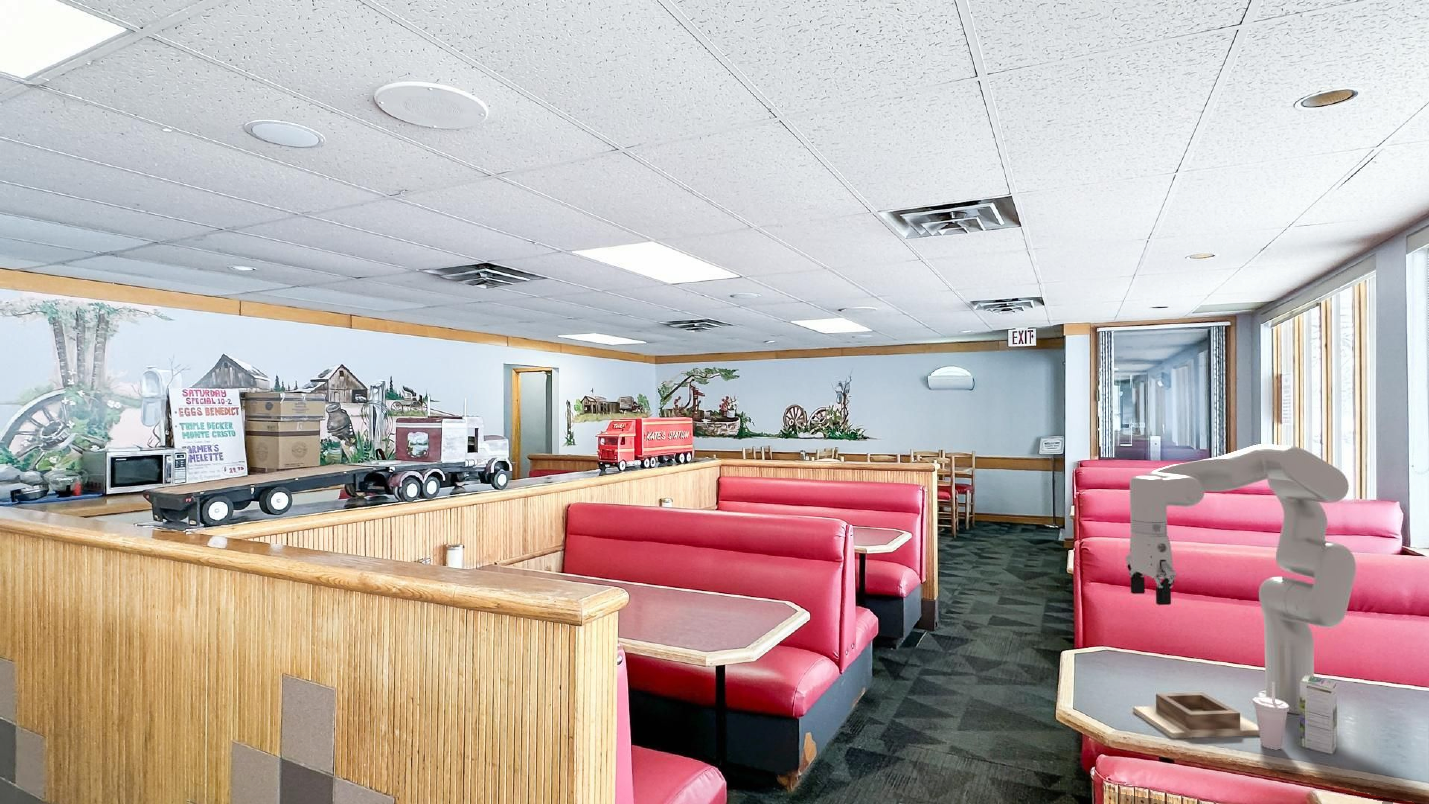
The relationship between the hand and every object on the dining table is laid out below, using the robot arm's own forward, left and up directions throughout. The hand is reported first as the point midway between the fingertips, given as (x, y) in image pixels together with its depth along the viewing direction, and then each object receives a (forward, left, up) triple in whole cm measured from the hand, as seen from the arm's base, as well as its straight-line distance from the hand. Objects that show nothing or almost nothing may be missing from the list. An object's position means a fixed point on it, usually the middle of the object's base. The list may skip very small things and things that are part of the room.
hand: (1150, 598), depth 171 cm
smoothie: (-17, +15, -29) cm, 37 cm away
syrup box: (-27, +16, -29) cm, 43 cm away
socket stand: (-9, +3, -29) cm, 30 cm away
